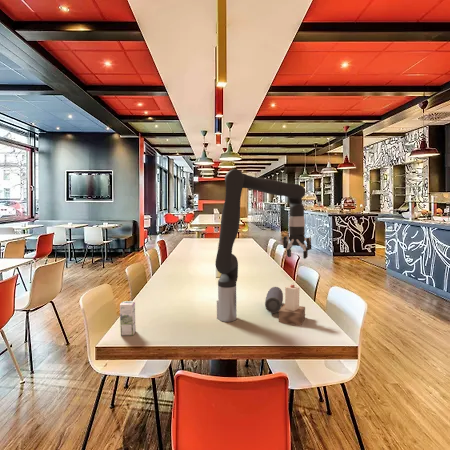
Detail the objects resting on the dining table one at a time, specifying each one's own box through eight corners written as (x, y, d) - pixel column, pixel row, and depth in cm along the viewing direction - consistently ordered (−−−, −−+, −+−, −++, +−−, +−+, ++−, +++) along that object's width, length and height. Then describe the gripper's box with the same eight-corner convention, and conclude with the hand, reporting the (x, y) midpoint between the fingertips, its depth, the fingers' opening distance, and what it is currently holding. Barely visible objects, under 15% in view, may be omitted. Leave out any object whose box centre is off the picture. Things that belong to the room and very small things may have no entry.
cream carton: (285, 308, 173) (285, 285, 172) (290, 306, 176) (290, 283, 175) (293, 311, 169) (294, 287, 168) (299, 308, 173) (299, 285, 172)
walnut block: (278, 322, 171) (278, 310, 170) (283, 315, 181) (283, 304, 180) (301, 325, 166) (301, 313, 166) (304, 318, 177) (305, 306, 176)
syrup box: (136, 330, 161) (135, 300, 160) (133, 335, 155) (132, 304, 154) (123, 331, 161) (122, 300, 160) (120, 336, 155) (119, 304, 154)
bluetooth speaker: (282, 315, 179) (282, 297, 179) (264, 314, 181) (264, 296, 181) (283, 302, 202) (283, 286, 201) (267, 302, 204) (267, 285, 203)
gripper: (280, 225, 173) (280, 257, 174) (306, 226, 164) (307, 260, 165) (287, 224, 179) (288, 255, 180) (313, 225, 170) (313, 257, 171)
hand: (297, 257), depth 173 cm, fingers open, 8 cm apart
